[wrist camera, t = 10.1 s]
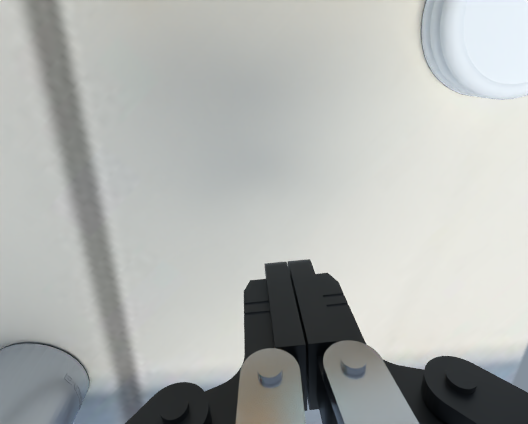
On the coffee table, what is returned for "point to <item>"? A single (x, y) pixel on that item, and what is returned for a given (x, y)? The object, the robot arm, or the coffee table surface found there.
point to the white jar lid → (478, 46)
